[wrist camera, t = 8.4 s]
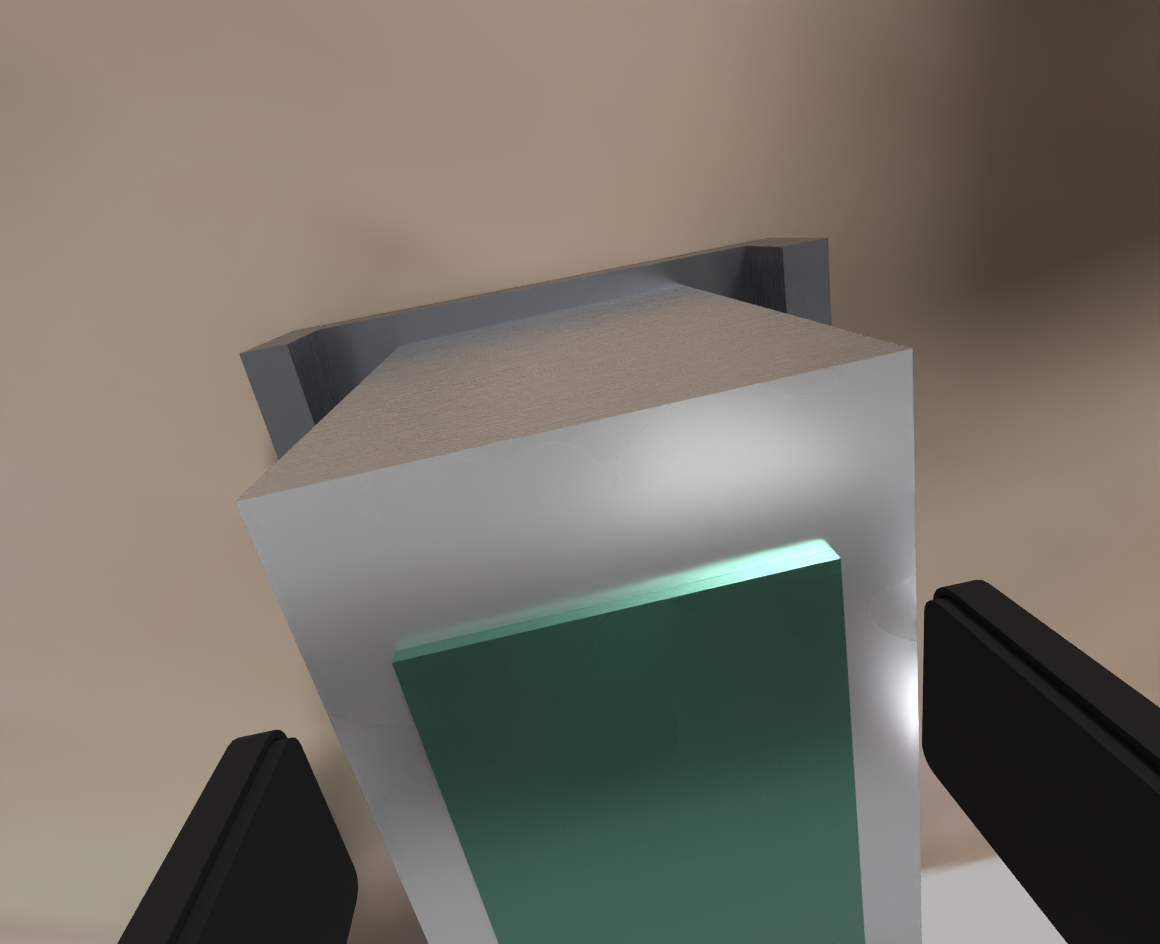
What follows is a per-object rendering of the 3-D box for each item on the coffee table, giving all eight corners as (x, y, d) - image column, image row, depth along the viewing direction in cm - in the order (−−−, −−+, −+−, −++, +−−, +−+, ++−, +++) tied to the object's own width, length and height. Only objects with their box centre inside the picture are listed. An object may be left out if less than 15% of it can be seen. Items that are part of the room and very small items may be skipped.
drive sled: (768, 237, 12) (827, 238, 10) (802, 736, 16) (849, 816, 14) (292, 331, 12) (239, 353, 9) (456, 812, 16) (446, 907, 14)
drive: (678, 283, 11) (925, 351, 4) (746, 756, 15) (931, 1168, 8) (399, 346, 11) (225, 511, 4) (540, 805, 15) (561, 1261, 8)
